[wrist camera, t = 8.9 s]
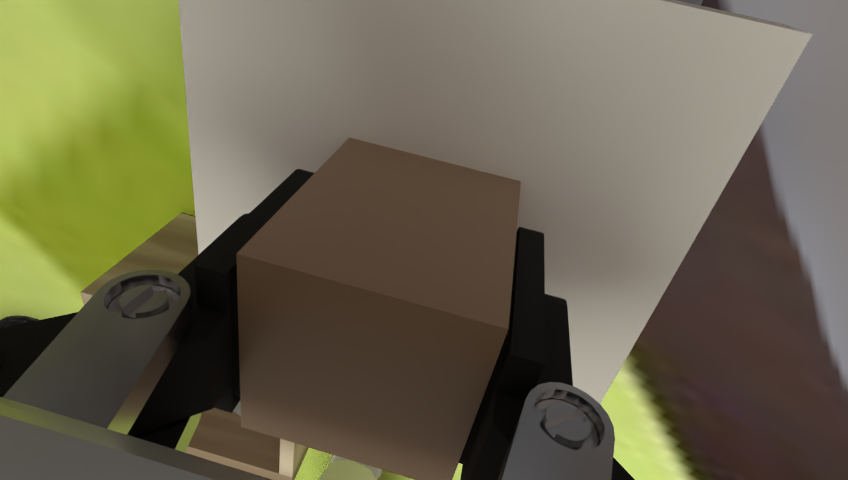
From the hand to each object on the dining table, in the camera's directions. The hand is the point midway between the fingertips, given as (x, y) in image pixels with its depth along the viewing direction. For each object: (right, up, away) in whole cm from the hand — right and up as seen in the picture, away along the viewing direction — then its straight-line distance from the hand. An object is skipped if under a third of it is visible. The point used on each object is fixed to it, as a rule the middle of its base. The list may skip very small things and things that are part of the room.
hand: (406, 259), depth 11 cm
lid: (0, +1, +2) cm, 2 cm away
